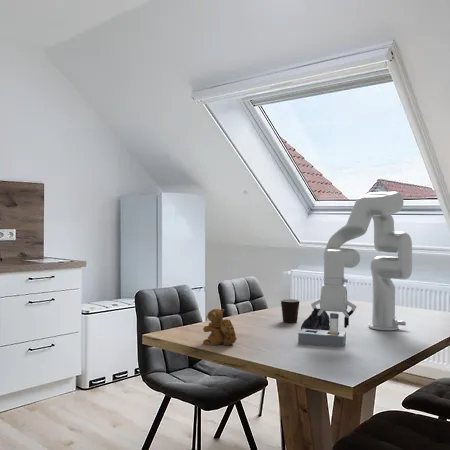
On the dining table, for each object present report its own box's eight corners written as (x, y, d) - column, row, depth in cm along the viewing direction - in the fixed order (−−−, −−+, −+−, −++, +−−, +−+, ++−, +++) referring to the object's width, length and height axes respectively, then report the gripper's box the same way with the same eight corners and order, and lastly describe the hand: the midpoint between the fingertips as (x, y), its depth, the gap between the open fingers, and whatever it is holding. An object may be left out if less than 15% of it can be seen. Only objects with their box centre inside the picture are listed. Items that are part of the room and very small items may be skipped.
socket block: (345, 342, 213) (345, 331, 213) (343, 347, 205) (343, 336, 205) (302, 338, 219) (302, 328, 219) (298, 343, 211) (298, 332, 211)
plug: (338, 341, 212) (339, 313, 211) (337, 343, 208) (338, 315, 208) (329, 341, 213) (330, 312, 212) (328, 342, 210) (329, 314, 209)
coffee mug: (293, 324, 247) (293, 302, 247) (277, 322, 252) (277, 300, 252) (305, 320, 256) (306, 299, 256) (289, 318, 261) (290, 297, 261)
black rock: (307, 336, 226) (310, 313, 225) (294, 327, 239) (297, 305, 238) (336, 337, 230) (339, 314, 229) (322, 328, 243) (324, 306, 242)
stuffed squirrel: (215, 338, 218) (215, 305, 218) (243, 344, 209) (243, 309, 209) (198, 343, 210) (198, 309, 210) (227, 349, 201) (227, 313, 201)
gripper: (357, 281, 211) (357, 326, 211) (313, 279, 217) (312, 323, 217) (355, 283, 204) (355, 330, 204) (309, 281, 209) (309, 326, 210)
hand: (333, 326), depth 210 cm, fingers open, 9 cm apart
